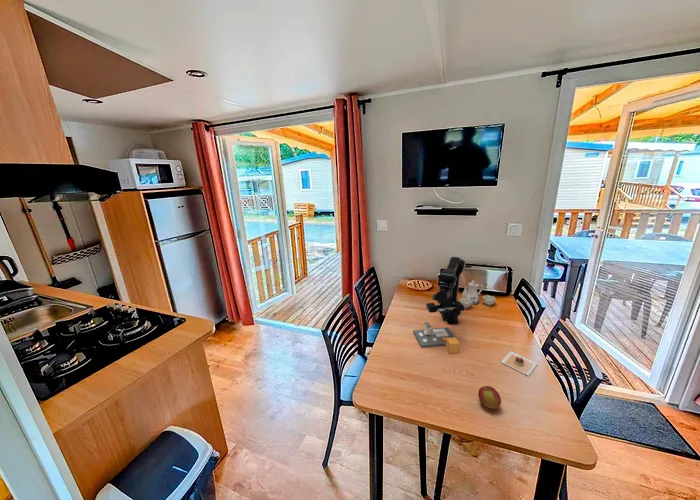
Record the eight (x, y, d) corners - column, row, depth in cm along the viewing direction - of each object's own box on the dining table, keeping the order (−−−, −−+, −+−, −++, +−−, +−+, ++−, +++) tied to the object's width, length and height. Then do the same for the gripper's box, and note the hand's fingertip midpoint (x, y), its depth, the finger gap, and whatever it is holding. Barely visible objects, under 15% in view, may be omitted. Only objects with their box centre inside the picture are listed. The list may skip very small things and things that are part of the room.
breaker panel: (447, 329, 157) (448, 325, 156) (459, 344, 144) (459, 340, 143) (413, 332, 155) (413, 328, 155) (421, 347, 142) (421, 343, 141)
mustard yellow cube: (454, 346, 142) (455, 337, 140) (458, 353, 137) (459, 343, 135) (445, 347, 142) (446, 338, 140) (449, 353, 137) (450, 344, 135)
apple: (492, 396, 111) (494, 380, 108) (503, 413, 103) (506, 397, 101) (474, 397, 111) (476, 381, 108) (484, 414, 103) (486, 398, 101)
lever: (428, 330, 153) (428, 322, 151) (431, 335, 149) (431, 326, 147) (423, 331, 153) (423, 322, 151) (425, 335, 149) (426, 326, 147)
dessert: (528, 377, 121) (530, 369, 119) (500, 363, 130) (501, 355, 128) (537, 365, 128) (539, 356, 126) (510, 352, 137) (511, 345, 135)
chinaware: (463, 314, 175) (467, 293, 169) (448, 301, 190) (451, 280, 184) (498, 307, 182) (503, 286, 176) (481, 295, 197) (485, 275, 190)
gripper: (456, 287, 147) (454, 312, 152) (423, 289, 146) (422, 314, 151) (466, 296, 137) (463, 323, 141) (430, 298, 136) (428, 325, 140)
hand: (443, 321), depth 143 cm, fingers closed
